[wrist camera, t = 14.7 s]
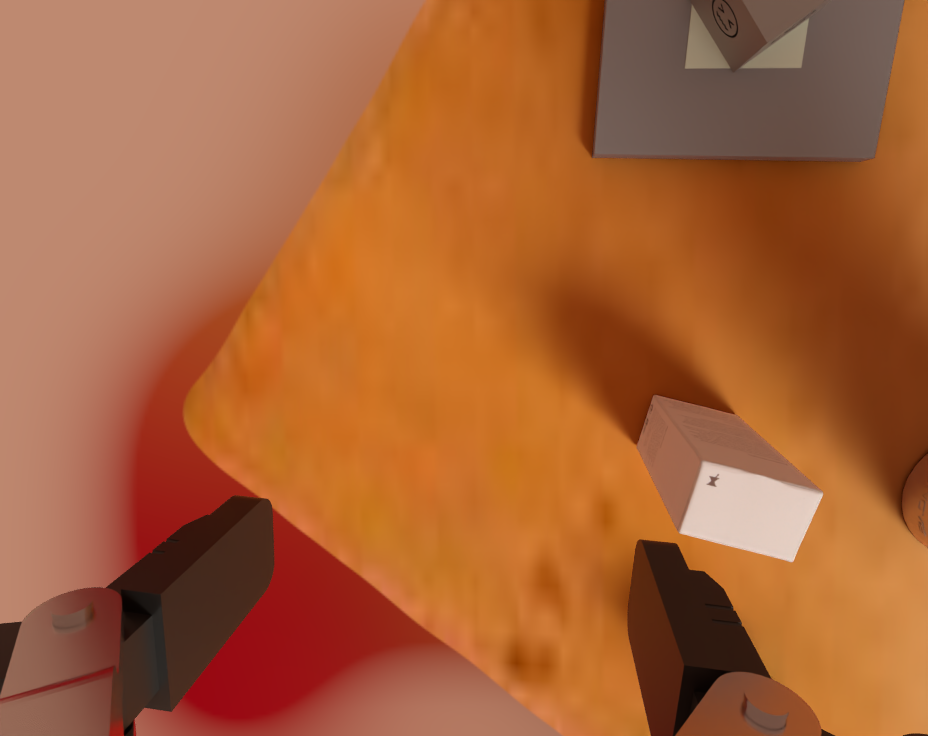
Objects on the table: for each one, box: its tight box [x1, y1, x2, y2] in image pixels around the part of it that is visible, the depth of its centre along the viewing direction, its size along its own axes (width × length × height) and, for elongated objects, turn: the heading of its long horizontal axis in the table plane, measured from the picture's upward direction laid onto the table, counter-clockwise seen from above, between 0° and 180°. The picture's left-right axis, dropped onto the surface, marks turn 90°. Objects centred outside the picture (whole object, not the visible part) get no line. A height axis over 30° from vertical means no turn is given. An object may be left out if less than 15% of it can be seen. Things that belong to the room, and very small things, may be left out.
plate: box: [592, 0, 904, 162], centre depth 32 cm, size 16×16×2 cm
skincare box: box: [637, 395, 823, 562], centre depth 33 cm, size 6×4×12 cm
